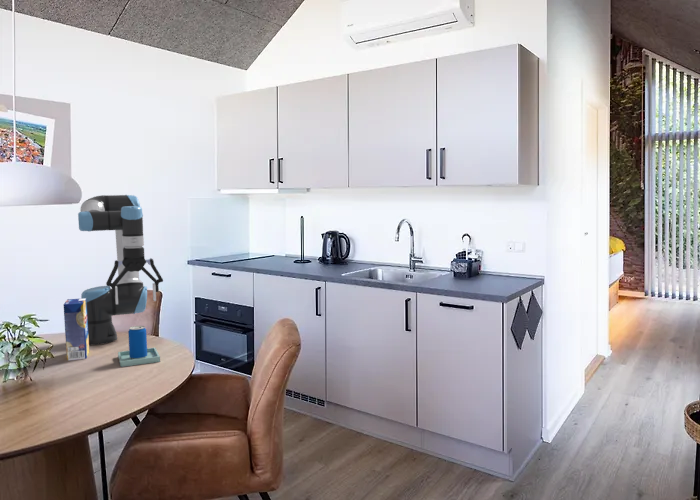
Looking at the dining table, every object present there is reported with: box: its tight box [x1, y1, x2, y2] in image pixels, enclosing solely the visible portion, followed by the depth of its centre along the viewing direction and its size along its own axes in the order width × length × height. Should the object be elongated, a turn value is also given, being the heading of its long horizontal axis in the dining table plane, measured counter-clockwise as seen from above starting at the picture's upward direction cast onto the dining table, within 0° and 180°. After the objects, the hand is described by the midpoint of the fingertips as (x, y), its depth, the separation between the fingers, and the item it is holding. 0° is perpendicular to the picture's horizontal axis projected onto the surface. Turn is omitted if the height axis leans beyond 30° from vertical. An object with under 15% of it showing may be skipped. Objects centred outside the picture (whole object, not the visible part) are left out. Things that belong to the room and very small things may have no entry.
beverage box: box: [63, 298, 90, 361], centre depth 221 cm, size 7×11×22 cm, turn 19°
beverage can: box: [127, 325, 148, 360], centre depth 216 cm, size 6×6×12 cm
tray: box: [117, 347, 161, 368], centre depth 217 cm, size 14×14×2 cm
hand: (136, 302), depth 215 cm, fingers open, 13 cm apart
